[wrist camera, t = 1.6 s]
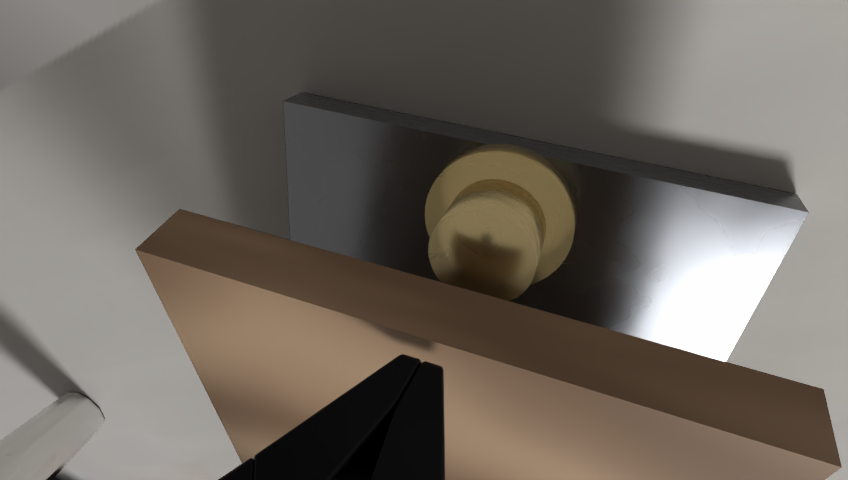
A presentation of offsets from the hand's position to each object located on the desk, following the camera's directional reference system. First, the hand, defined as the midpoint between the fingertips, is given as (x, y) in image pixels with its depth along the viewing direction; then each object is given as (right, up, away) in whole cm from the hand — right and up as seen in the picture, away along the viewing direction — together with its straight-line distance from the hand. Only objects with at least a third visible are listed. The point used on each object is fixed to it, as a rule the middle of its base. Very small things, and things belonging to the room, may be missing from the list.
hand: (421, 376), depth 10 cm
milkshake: (-24, -9, +26) cm, 36 cm away
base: (+2, -1, +11) cm, 11 cm away
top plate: (+1, -3, +7) cm, 8 cm away
